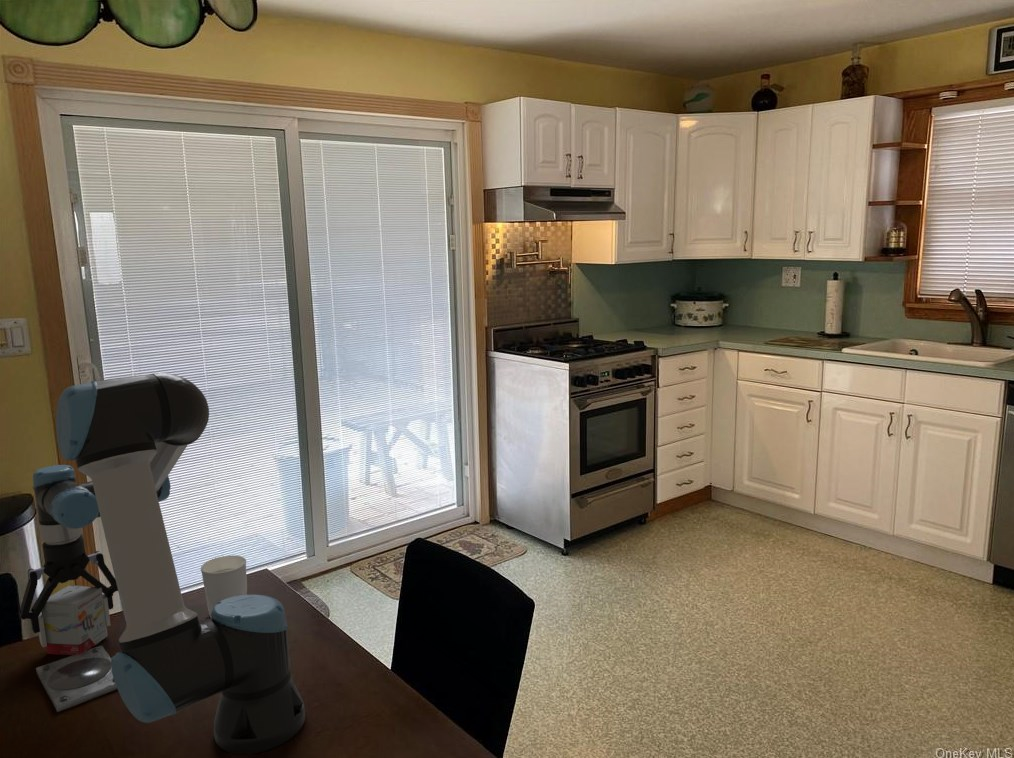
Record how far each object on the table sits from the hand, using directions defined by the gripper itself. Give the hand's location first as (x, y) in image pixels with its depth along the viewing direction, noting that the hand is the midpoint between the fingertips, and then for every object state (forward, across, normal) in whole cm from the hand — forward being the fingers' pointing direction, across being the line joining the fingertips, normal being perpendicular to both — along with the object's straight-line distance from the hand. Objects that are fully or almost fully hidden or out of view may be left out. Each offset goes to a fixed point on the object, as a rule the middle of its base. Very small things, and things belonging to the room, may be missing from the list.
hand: (76, 634), depth 159 cm
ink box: (+2, 0, 0) cm, 3 cm away
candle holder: (+2, -29, +10) cm, 31 cm away
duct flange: (+2, +3, +16) cm, 17 cm away
